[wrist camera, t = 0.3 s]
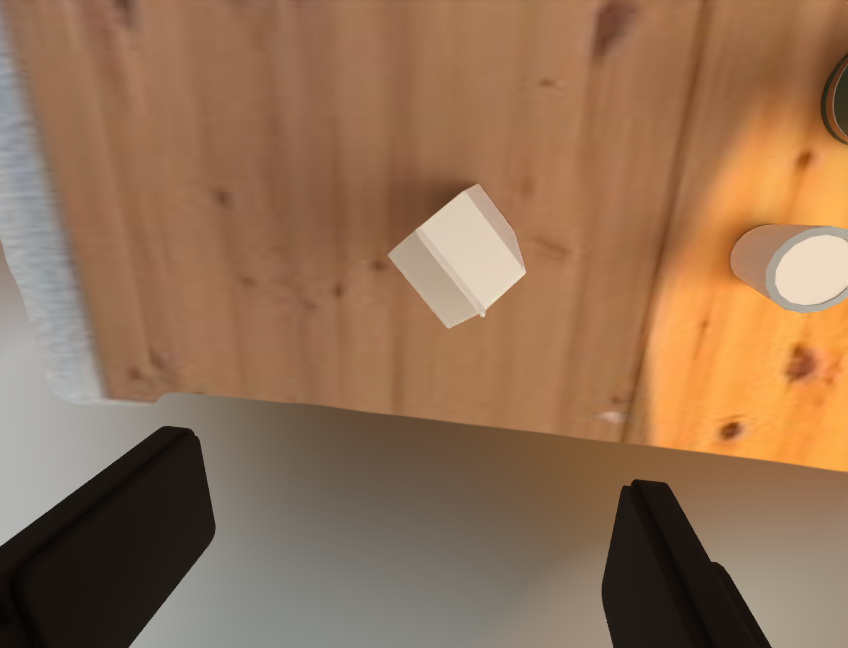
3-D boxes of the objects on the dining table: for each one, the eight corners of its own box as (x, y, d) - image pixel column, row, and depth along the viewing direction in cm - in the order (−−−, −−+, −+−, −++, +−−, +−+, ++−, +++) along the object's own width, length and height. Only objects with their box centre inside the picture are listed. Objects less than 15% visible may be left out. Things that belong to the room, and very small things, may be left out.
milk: (478, 182, 41) (460, 188, 21) (515, 232, 42) (533, 284, 22) (430, 222, 43) (370, 264, 23) (466, 269, 44) (441, 349, 24)
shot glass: (753, 204, 38) (806, 211, 32) (824, 235, 38) (892, 248, 31) (706, 273, 41) (746, 292, 34) (773, 302, 40) (825, 327, 34)
